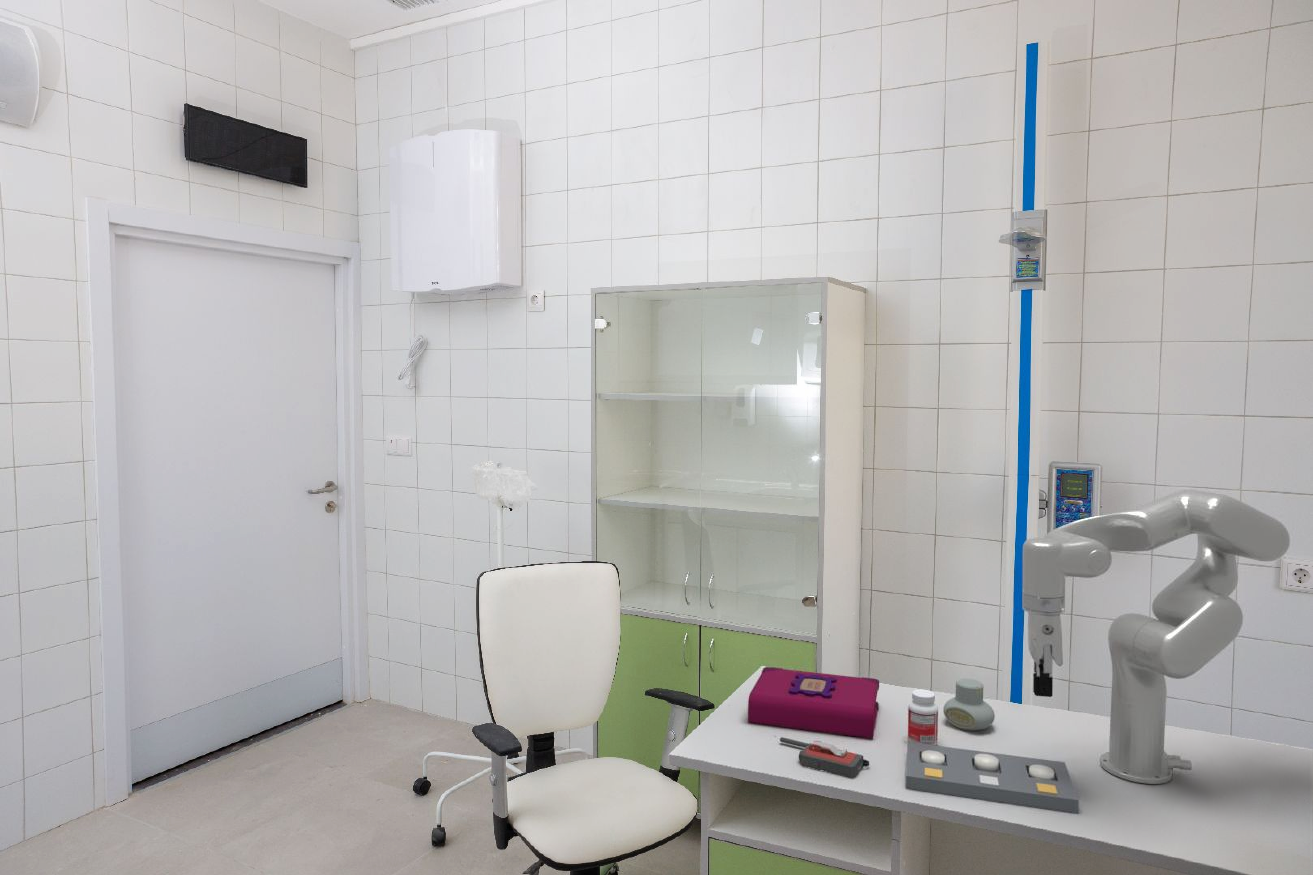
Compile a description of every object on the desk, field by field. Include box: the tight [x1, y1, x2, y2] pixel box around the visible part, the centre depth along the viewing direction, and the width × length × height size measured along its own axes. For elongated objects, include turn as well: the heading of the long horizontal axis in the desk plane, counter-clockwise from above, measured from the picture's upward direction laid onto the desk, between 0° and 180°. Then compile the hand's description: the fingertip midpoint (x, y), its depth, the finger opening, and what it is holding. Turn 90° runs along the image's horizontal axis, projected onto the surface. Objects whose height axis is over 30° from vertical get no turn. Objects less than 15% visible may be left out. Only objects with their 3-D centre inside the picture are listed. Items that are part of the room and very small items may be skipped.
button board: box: [905, 741, 1080, 814], centre depth 163 cm, size 30×16×3 cm, turn 72°
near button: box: [1029, 765, 1054, 780], centre depth 162 cm, size 4×4×2 cm
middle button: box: [974, 754, 999, 772], centre depth 165 cm, size 4×4×2 cm
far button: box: [921, 750, 945, 765], centre depth 168 cm, size 4×4×2 cm
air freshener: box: [943, 678, 996, 731], centre depth 190 cm, size 11×8×10 cm
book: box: [747, 666, 880, 740], centre depth 196 cm, size 21×28×8 cm
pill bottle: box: [907, 688, 939, 746], centre depth 181 cm, size 6×6×11 cm
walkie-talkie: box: [779, 736, 870, 779], centre depth 172 cm, size 9×4×20 cm
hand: (1042, 694), depth 163 cm, fingers closed
